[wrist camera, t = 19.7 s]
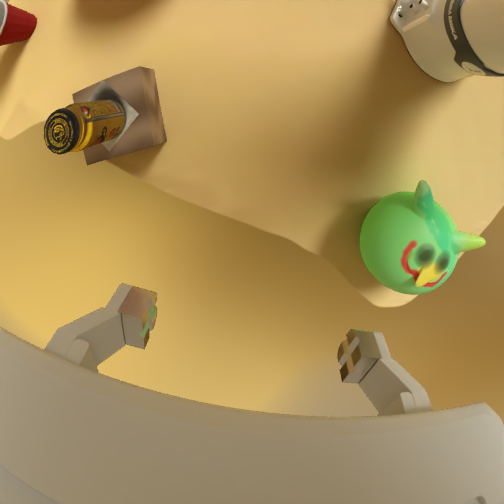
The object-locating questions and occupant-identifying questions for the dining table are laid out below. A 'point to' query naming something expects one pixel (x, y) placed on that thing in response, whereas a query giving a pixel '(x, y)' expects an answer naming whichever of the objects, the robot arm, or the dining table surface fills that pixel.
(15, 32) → the plastic cup
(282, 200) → the dining table surface
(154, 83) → the walnut block
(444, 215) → the toy bird
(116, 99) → the condiment
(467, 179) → the dining table surface
